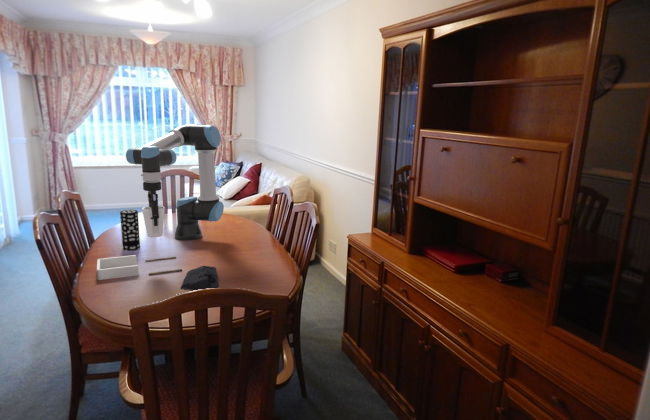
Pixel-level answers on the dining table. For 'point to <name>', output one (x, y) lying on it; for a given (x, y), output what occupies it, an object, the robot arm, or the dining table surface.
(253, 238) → the dining table surface
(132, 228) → the white-spotted black cylinder
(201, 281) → the dark slate chunk
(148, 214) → the foam cup
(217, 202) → the robot arm
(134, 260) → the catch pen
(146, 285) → the dining table surface
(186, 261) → the dining table surface
